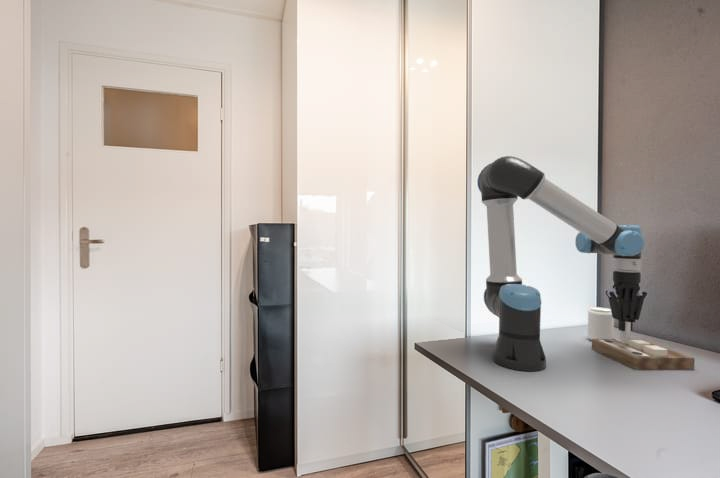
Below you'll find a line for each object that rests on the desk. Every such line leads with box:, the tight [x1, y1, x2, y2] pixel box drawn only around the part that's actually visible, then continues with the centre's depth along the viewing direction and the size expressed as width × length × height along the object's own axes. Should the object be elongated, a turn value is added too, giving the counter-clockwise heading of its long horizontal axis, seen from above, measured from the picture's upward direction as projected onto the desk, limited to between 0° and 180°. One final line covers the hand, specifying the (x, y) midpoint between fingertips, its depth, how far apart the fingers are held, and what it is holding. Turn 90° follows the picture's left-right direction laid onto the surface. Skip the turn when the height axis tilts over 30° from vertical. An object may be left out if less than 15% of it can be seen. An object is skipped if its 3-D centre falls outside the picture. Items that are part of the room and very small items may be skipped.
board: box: [591, 338, 695, 371], centre depth 116 cm, size 18×19×4 cm
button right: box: [643, 345, 667, 357], centre depth 110 cm, size 4×4×3 cm
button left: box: [614, 338, 628, 344], centre depth 122 cm, size 4×4×3 cm
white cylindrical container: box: [587, 306, 615, 341], centre depth 135 cm, size 8×8×12 cm
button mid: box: [628, 340, 651, 350], centre depth 116 cm, size 4×4×3 cm
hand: (625, 340), depth 122 cm, fingers closed
